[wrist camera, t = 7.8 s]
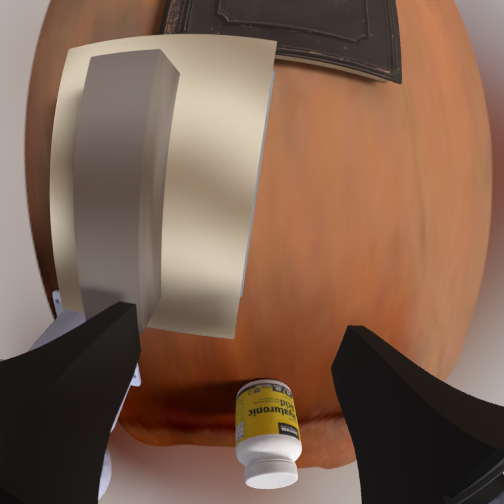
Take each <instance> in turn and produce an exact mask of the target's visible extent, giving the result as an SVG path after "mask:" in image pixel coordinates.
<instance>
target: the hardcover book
mask: <svg viewBox="0 0 504 504" xmlns="http://www.w3.org/2000/svg"><path fill="white" fill-rule="evenodd" d="M168 34H211V35H228V36H240V37H249V38H257V39H265V40H271V41H277V46H276V52H275V59H281V60H289V61H296V62H302V63H308V64H313V65H318V66H323V67H328V68H333V69H337V70H341V71H345V72H349V73H353V74H357V75H361V76H364V77H368V78H371V79H374V80H378V81H381V82H384V83H387V82H389V81H392V82H395V83H398V84H402V65H401V46H400V34H399V24H398V15H397V8H396V1H395V0H167V2H166V6H165V10H164V14H163V18H162V23H161V28H160V32H159V35H168Z"/></svg>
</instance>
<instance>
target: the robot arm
mask: <svg viewBox="0 0 504 504" xmlns="http://www.w3.org/2000/svg"><path fill="white" fill-rule="evenodd" d="M52 295H53V300H54V305H55V309H56V313H57V318H56V319H55V321H54V322H53V323H52V324H51V325H50V326H49V327H48V328H47V330H46V331H45V332H44V333H43V334H42V335H41V336H40V338H39V339H38V340H37V341H36V342H35V344H34V345H33V346H32V347H31V349H30V350H29V351H28V352H26V353H24V354H21V355H19V356H16V357H13V358H10V359H7V360H2V359H0V504H98V500H99V499H100V498H101V497H102V496H103V494H104V492H105V491H106V489H107V487H108V484H109V481H110V477H111V460H110V455H109V452H108V450H107V444H108V439H109V435H110V433H111V432H112V430H113V429H114V427H115V425H116V422H117V419H118V416H119V414H120V411H121V408H122V405H123V403H124V400H125V398H126V395H127V392H128V390H129V387H130V385H134V386H140V384H141V379H140V374H139V368H138V359H139V356H140V352H141V347H140V339H139V330H138V320H137V308H136V304H133V303H127V302H122V301H119V302H117V303H115V304H113V305H112V306H110V307H108V308H107V309H105V310H103V311H102V312H100V313H99V314H97V315H95V316H94V317H92V318H90V319H89V320H87V321H86V318H85V314H83V313H79V312H75V311H71V310H68V309H64V308H63V307H62V302H61V297H60V292H59V290H55V291H53V293H52ZM58 300H59V301H58ZM331 370H332V376H333V382H334V386H335V391H336V394H337V397H338V400H339V403H340V406H341V409H342V412H343V415H344V418H345V420H346V423H347V426H348V429H349V432H350V435H351V438H352V441H353V445H354V449H355V453H356V459H357V464H358V470H359V478H360V485H361V497H362V504H504V474H503V472H504V407H503V406H499V405H496V404H493V403H489V402H486V401H484V400H480V399H478V398H476V397H473V396H471V395H468V394H466V393H464V392H462V391H460V390H457V389H456V388H454V387H451V386H450V385H448V384H446V383H445V382H443V381H441V380H439V379H438V378H436V377H434V376H433V375H431V374H430V373H428V372H427V371H425V370H424V369H422V368H421V367H419V366H418V365H416V364H415V363H413V362H412V361H411V360H409V359H408V358H407V357H405V356H404V355H403V354H401V353H400V352H399V351H397V350H396V349H395V348H393V347H392V346H391V345H389V344H388V343H387V342H385V341H384V340H383V339H381V338H380V337H379V336H377V335H376V334H375V333H373V332H372V331H370V330H369V329H367V328H366V327H364V326H353V325H348V326H347V329H346V332H345V334H344V337H343V340H342V342H341V345H340V347H339V350H338V352H337V355H336V357H335V360H334V362H333V364H332V367H331Z"/></svg>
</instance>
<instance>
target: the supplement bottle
mask: <svg viewBox="0 0 504 504" xmlns="http://www.w3.org/2000/svg"><path fill="white" fill-rule="evenodd" d="M301 451H302V445H301V439H300V434H299V428H298V423H297V418H296V413H295V407H294V402H293V396H292V393H291V390H290V389H289V387H288V386H287V385H285V384H284V383H282V382H279V381H276V380H269V379H264V380H256V381H253V382H250V383H248V384H246V385H244V386H243V387H242V388H241V389H240V390H239V392H238V393H237V397H236V456H237V459H238V460H239V461H240V462H241V463H242V464H243V465H245V466H246V467H245V483H246V484H247V485H248V486H250V487H253V488H258V489H274V488H281V487H285V486H288V485H291V484H293V483H294V482H296V481H297V479H298V474H297V467H296V464H295V462H294V461H295V460H297V458H298V457H299V456H300V454H301Z"/></svg>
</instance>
